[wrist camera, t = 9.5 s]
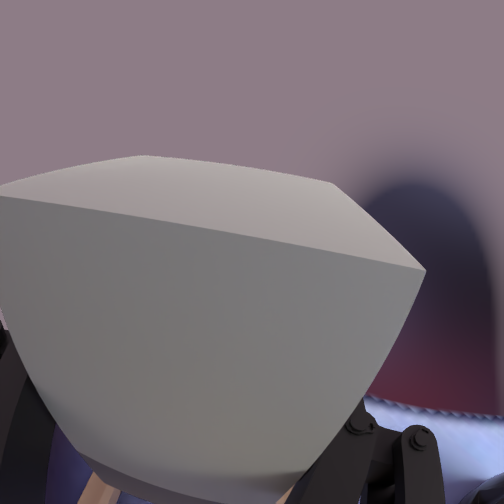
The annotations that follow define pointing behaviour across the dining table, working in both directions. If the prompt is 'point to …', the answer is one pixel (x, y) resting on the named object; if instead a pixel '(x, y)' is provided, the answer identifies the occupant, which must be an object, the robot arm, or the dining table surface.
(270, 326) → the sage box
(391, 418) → the dining table surface
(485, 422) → the dining table surface
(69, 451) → the dining table surface
